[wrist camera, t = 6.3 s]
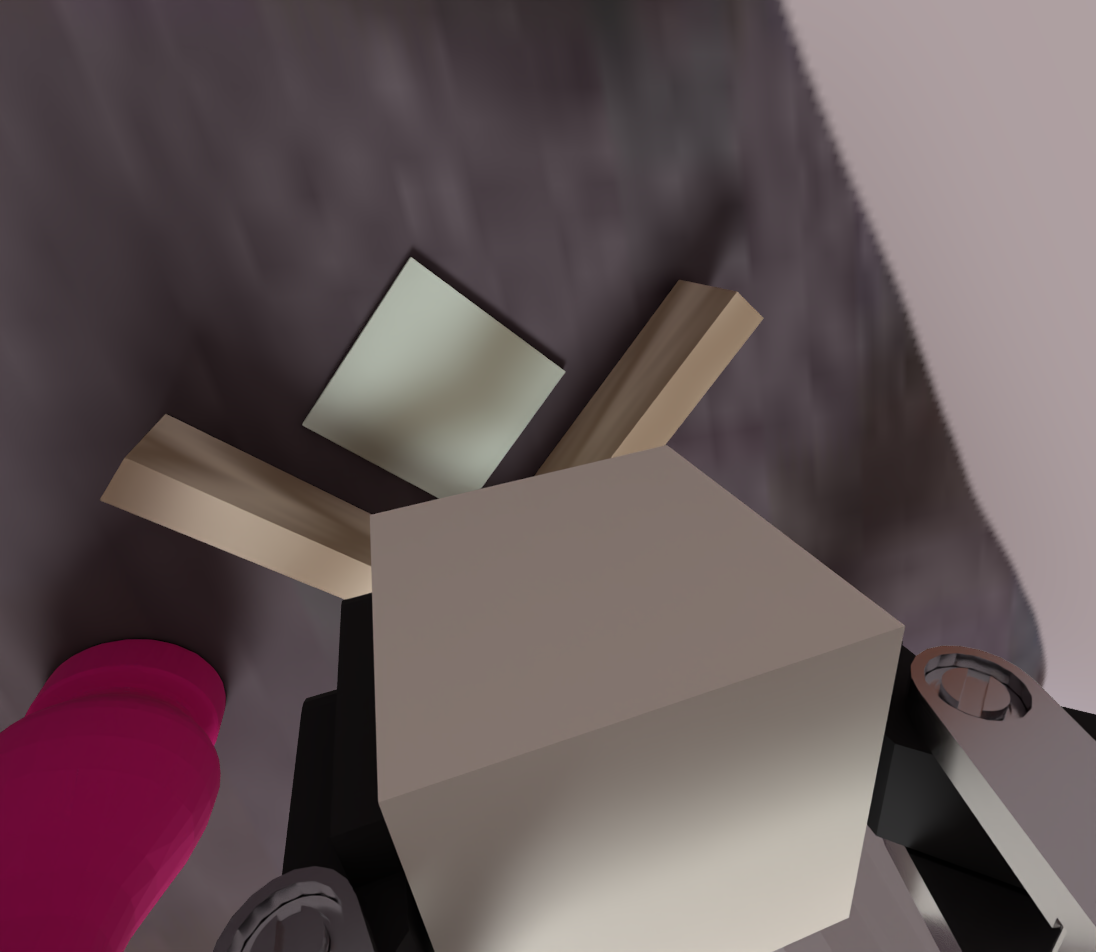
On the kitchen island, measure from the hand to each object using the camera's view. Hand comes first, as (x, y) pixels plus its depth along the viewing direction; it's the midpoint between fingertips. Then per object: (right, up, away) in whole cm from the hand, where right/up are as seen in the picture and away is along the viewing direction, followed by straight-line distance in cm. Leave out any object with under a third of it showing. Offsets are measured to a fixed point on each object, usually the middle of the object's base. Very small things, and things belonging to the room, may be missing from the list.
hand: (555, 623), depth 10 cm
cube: (0, 0, +1) cm, 1 cm away
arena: (-4, +7, +11) cm, 14 cm away
